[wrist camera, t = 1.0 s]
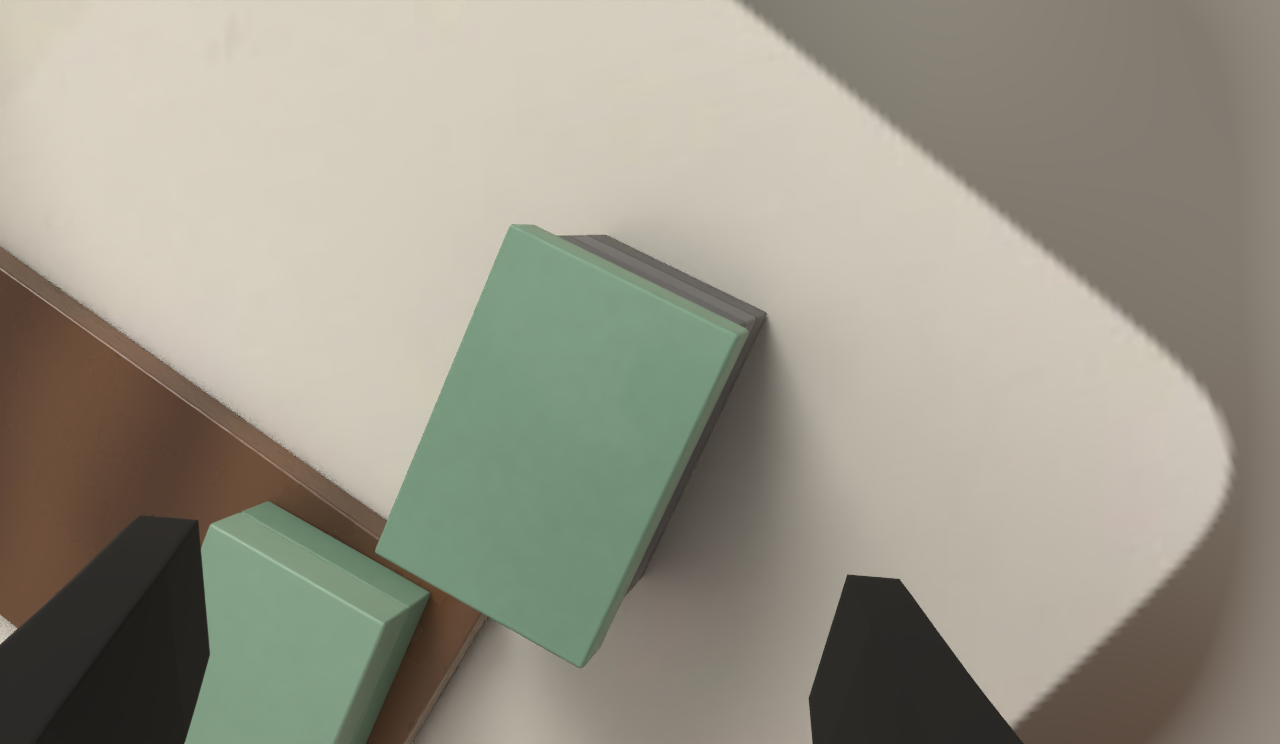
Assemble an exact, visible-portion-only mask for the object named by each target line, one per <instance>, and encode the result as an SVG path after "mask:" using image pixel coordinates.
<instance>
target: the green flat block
mask: <svg viewBox="0 0 1280 744" xmlns="http://www.w3.org/2000/svg"><path fill="white" fill-rule="evenodd" d="M201 556H202V568H203V579H204V591H205V602H206V613H207V625H208V636H209V648H210V657H209V660H208V664H207V667H206V671H205V675H204V678H203V682H202V686H201V689H200V693H199V697H198V700H197V704H196V707H195V711H194V714H193V717H192V721H191V724H190V727H189V731H188V734H187V738H186V741H185V743H184V744H366V743H367V740H368V738H369V736H370V734H371V731H372V729H373V727H374V724H375V722H376V720H377V717H378V715H379V713H380V710H381V708H382V706H383V703H384V701H385V699H386V696H387V694H388V692H389V689H390V687H391V685H392V683H393V680H394V678H395V676H396V673H397V671H398V669H399V666H400V664H401V662H402V659H403V657H404V655H405V652H406V650H407V648H408V645H409V643H410V641H411V639H412V636H413V634H414V632H415V629H416V627H417V625H418V622H419V620H420V618H421V615H422V613H423V611H424V608H425V606H426V604H427V601H428V599H429V597H430V592H429V591H427V590H425V589H423V588H422V587H420V586H418V585H416V584H414V583H413V582H411V581H409V580H407V579H406V578H404V577H402V576H400V575H399V574H397V573H395V572H393V571H391V570H390V569H388V568H386V567H384V566H383V565H381V564H379V563H377V562H376V561H374V560H372V559H370V558H369V557H367V556H365V555H363V554H361V553H360V552H358V551H356V550H354V549H353V548H351V547H349V546H347V545H346V544H344V543H342V542H340V541H339V540H337V539H335V538H333V537H331V536H330V535H328V534H326V533H324V532H323V531H321V530H319V529H317V528H316V527H314V526H312V525H310V524H308V523H307V522H305V521H303V520H301V519H300V518H298V517H296V516H294V515H293V514H291V513H289V512H287V511H286V510H284V509H282V508H280V507H278V506H277V505H275V504H273V503H271V502H269V501H267V502H264V503H262V504H259V505H257V506H254V507H252V508H249V509H247V510H244V511H242V512H241V513H237V514H234V515H232V516H229V517H227V518H224V519H222V520H219V521H217V522H214V523H212V524H211V525H210V526H209V529H208V531H207V534H206V537H205V539H204V542H203V545H202V547H201Z"/></svg>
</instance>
